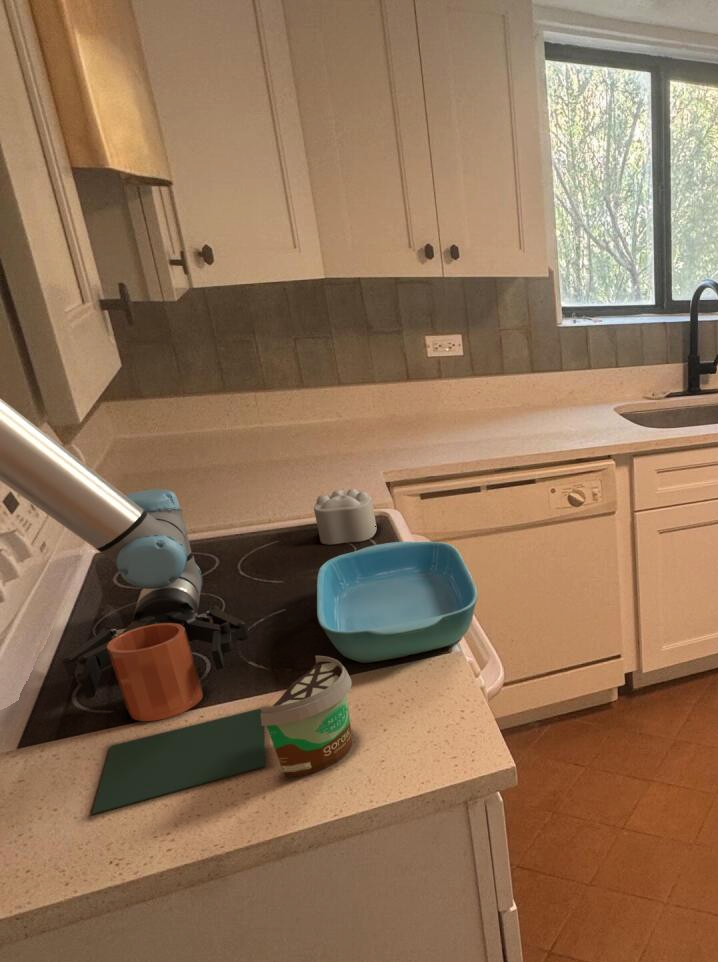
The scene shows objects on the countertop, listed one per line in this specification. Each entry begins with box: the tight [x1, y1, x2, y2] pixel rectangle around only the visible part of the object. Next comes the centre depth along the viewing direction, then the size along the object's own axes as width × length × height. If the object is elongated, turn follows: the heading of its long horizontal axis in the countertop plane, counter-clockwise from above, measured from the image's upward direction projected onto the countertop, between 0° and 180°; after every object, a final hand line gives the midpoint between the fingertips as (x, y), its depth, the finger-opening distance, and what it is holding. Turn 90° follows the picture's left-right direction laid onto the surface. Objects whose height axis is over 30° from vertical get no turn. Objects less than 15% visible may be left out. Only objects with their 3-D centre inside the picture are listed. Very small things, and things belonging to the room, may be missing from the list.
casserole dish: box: [316, 541, 479, 664], centre depth 126 cm, size 37×22×7 cm, turn 28°
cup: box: [107, 623, 204, 722], centre depth 102 cm, size 8×8×10 cm
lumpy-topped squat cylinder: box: [313, 487, 378, 545], centre depth 163 cm, size 10×13×9 cm
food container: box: [260, 655, 353, 778], centre depth 92 cm, size 12×6×10 cm, turn 179°
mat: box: [91, 708, 266, 816], centre depth 93 cm, size 14×16×1 cm
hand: (154, 674), depth 99 cm, fingers open, 13 cm apart
